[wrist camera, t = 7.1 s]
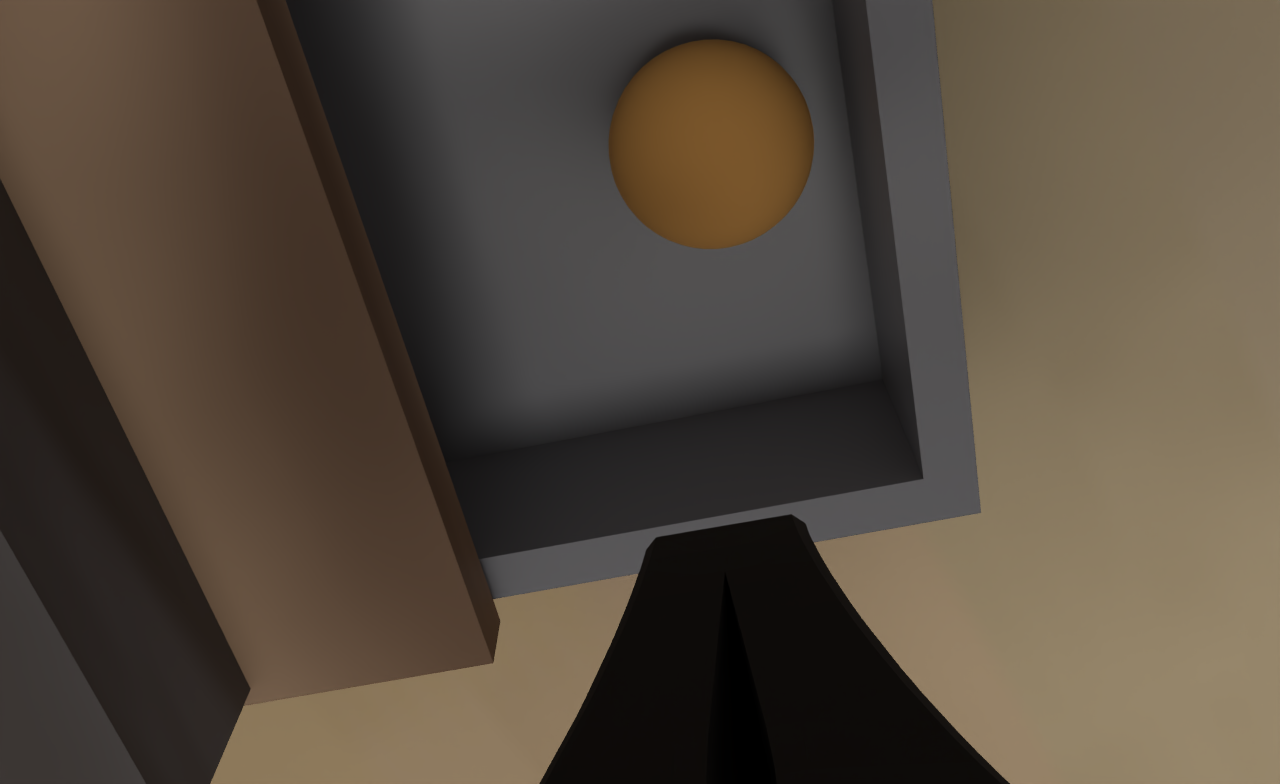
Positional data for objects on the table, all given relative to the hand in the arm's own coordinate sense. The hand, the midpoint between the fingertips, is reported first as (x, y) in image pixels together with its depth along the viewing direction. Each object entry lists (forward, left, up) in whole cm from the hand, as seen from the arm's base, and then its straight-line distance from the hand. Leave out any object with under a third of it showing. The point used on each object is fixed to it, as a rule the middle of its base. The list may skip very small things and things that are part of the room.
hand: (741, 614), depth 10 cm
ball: (0, -2, -8) cm, 9 cm away
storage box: (+3, -2, -10) cm, 11 cm away
